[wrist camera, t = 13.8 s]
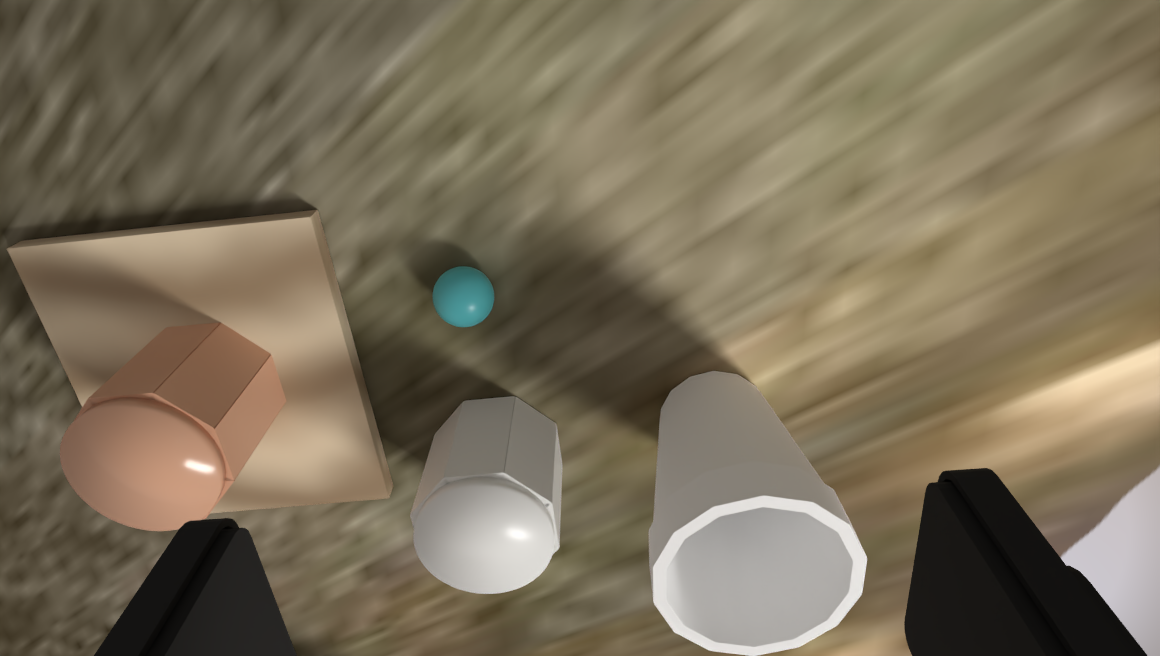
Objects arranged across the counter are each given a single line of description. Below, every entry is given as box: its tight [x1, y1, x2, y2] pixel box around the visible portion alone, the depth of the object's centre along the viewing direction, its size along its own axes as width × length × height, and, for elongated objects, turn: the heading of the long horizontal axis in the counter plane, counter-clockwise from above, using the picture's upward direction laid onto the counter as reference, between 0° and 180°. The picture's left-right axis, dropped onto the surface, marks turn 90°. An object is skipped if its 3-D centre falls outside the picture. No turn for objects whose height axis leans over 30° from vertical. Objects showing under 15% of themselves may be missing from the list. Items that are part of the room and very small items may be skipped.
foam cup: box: [649, 371, 867, 656], centre depth 39 cm, size 10×9×13 cm
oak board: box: [7, 210, 393, 513], centre depth 43 cm, size 18×16×1 cm
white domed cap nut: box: [410, 396, 562, 594], centre depth 42 cm, size 7×7×8 cm
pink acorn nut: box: [60, 322, 286, 531], centre depth 39 cm, size 7×7×8 cm
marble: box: [433, 266, 494, 327], centre depth 40 cm, size 3×3×3 cm
